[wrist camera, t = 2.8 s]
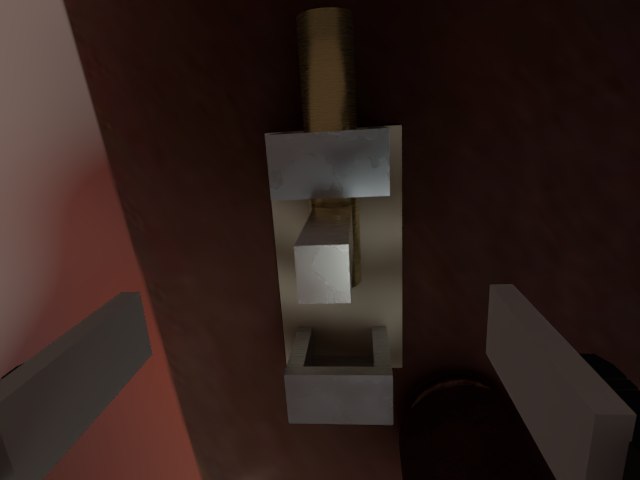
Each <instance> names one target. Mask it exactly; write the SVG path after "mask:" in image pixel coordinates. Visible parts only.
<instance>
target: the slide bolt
mask: <svg viewBox="0 0 640 480" xmlns="http://www.w3.org/2000/svg"><path fill="white" fill-rule="evenodd" d="M296 23H297V38H298V53H299V68H300V82H301V97H302V112H303V127H304V133H305V132H322V131H339V130H356V129H357V118H356V87H355V56H354V25H353V12H352V11H351V10H349V9H345V8H335V7H329V8H317V9H311V10H307V11H304V12H301V13H299V14H298V15H297V16H296ZM308 201H309V217H308V219H307V221H306V223H305V225H304V227H303V229H302V231H301V233H300V235H299V237H298V239H297V241H296V242H295V244H294V257H295V269H296V282H297V294H298V304H324V303H351V290H352V288H353V287H355V286H357V285H359V284H360V283H361V281H362V274H361V243H360V212H359V197H349V198H324V199H308Z"/></svg>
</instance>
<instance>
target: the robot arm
mask: <svg viewBox="0 0 640 480" xmlns="http://www.w3.org/2000/svg"><path fill="white" fill-rule="evenodd" d="M486 354H487V356H488V358H489V360H490V361H491V363H492V365H493V367H494V369H495V370H496V372H497V374H498V376H499V378H500V379H501V381H502V383H503V385H504V387H505V388H506V390H507V392H508V394H509V396H510V397H511V399H512V401H513V403H514V405H515V406H516V408H517V410H518V412H519V414H520V415H521V417H522V419H523V421H524V423H525V424H526V426H527V428H528V430H529V432H530V433H531V435H532V437H533V439H534V441H535V442H536V444H537V446H538V448H539V450H540V452H541V453H542V455H543V457H544V459H545V461H546V462H547V464H548V466H549V468H550V470H551V471H552V473H553V475H554V477H555V479H556V480H640V390H638V388H637V387H636V386H635V385H634V384H633V383H632V382H631V381H630V380H627V377H626V376H625V375H624V374H623V373H622V372H621V371H620V370H619V369H617V368H616V367H615V366H614V365H613V364H611V363H610V362H608V361H606V360H604V359H602V358H601V357H599V356H597V355H595V354H578V353H577V352H576V350H575V349H574V348H573V347H572V346H571V345H570V344H569V343H568V342H567V341H566V340H565V339H564V338H563V337H562V336H561V335H560V334H559V333H558V332H557V331H556V329H555V328H554V327H553V326H552V325H551V324H550V323H549V322H548V321H547V320H546V319H545V318H544V317H543V316H542V315H541V314H540V313H539V312H538V311H537V309H536V308H535V307H534V306H533V305H532V304H531V303H530V302H529V301H528V300H527V299H526V298H525V297H524V296H523V295H522V294H521V293H520V292H519V291H518V289H517V288H516V287H515V286H514V285H513V284H498V285H490V294H489V310H488V326H487V342H486ZM151 355H152V350H151V345H150V341H149V336H148V331H147V325H146V320H145V316H144V310H143V306H142V300H141V296H140V292H121V293H120V294H118V295H117V296H115V297H114V298H113V299H111V300H110V301H109V302H107V303H106V304H105V305H103V306H102V307H100V308H99V309H98V310H96V311H95V312H94V313H92V314H91V315H89V316H88V317H87V318H85V319H84V320H83V321H81V322H80V323H79V324H77V325H76V326H74V327H73V328H72V329H70V330H69V331H67V332H66V333H65V334H63V335H62V336H61V337H59V338H58V339H57V340H55V341H54V342H52V343H51V344H50V345H48V346H47V347H46V348H44V349H43V350H41V351H40V352H39V353H37V354H36V355H35V356H33V357H32V358H30V359H29V360H28V361H26V362H25V363H23V364H21V365H19V366H17V367H15V368H14V369H13V370H11V371H10V372H8V373H7V374H6V375H5V376H3V377H2V379H1V380H0V480H43V479H44V477H45V476H46V475H47V474H48V473H49V472H50V471H51V469H52V468H53V467H54V466H55V465H56V464H57V463H58V462H59V460H60V459H61V458H62V457H63V456H64V455H65V453H66V452H67V451H68V450H69V449H70V448H71V447H72V445H73V444H74V443H75V442H76V441H77V440H78V439H79V438H80V436H81V435H82V434H83V433H84V432H85V431H86V430H87V428H88V427H89V426H90V425H91V424H92V423H93V422H94V420H95V419H96V418H97V417H98V416H99V415H100V413H101V412H102V411H103V410H104V409H105V408H106V406H107V405H108V404H109V403H110V402H111V401H112V400H113V399H114V398H115V396H116V395H117V394H118V393H119V392H120V391H121V389H122V388H123V387H124V386H125V385H126V384H127V383H128V382H129V380H130V379H131V378H132V377H133V376H134V375H135V373H136V372H137V371H138V370H139V369H140V368H141V367H142V365H143V364H144V363H145V362H146V361H147V360H148V359H149V358H150V356H151Z"/></svg>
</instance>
